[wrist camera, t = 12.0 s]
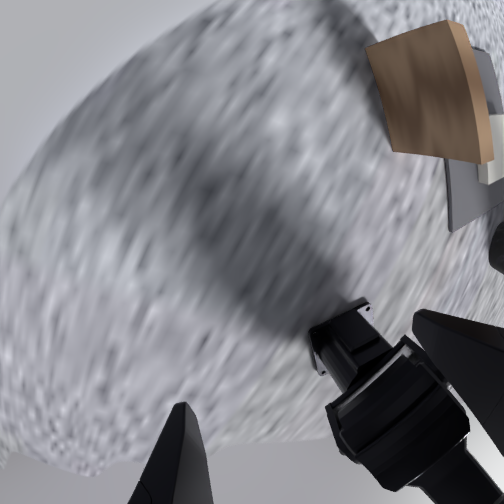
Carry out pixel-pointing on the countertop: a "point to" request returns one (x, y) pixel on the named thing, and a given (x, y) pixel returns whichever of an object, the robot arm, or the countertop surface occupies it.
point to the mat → (465, 173)
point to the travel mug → (497, 249)
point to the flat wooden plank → (433, 93)
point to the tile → (500, 166)
